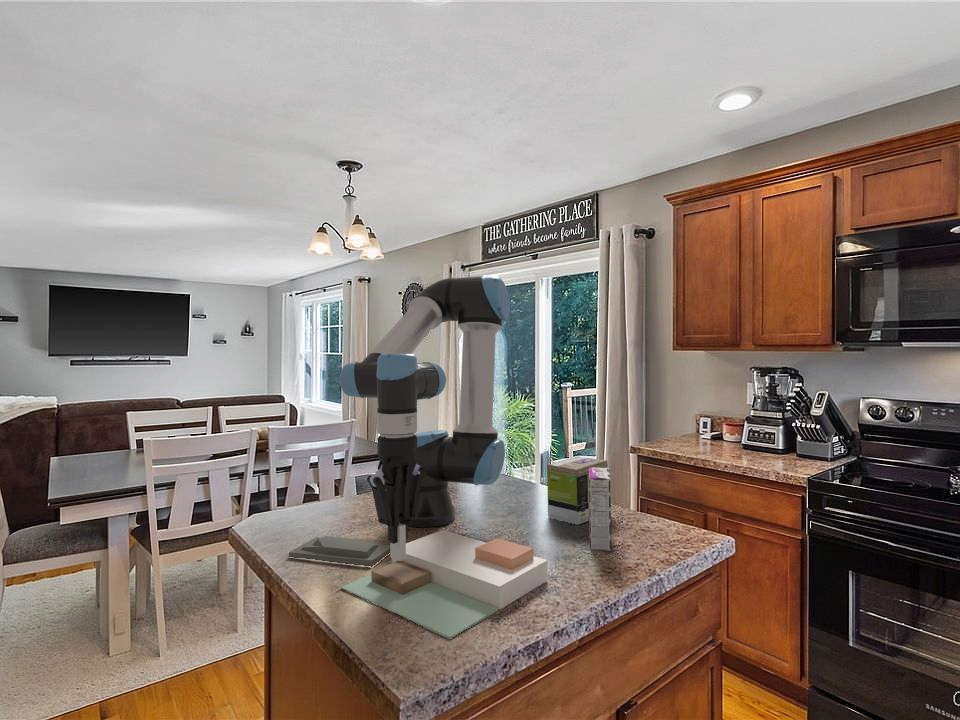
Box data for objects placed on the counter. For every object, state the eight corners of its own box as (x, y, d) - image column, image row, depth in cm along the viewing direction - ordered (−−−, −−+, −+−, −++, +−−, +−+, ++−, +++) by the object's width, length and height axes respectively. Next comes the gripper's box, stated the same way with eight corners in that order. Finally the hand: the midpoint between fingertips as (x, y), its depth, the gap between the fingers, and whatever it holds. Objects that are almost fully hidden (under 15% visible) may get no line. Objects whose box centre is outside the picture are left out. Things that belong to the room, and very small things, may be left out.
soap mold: (316, 545, 125) (316, 530, 125) (393, 554, 119) (393, 538, 119) (288, 561, 115) (288, 545, 115) (371, 572, 109) (371, 555, 109)
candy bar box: (588, 533, 130) (588, 466, 130) (609, 535, 129) (609, 467, 129) (588, 550, 119) (588, 477, 119) (611, 552, 118) (611, 478, 118)
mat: (340, 588, 100) (340, 586, 100) (390, 568, 109) (390, 566, 109) (450, 639, 82) (450, 637, 82) (498, 610, 91) (498, 608, 91)
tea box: (579, 506, 153) (579, 455, 153) (609, 513, 146) (609, 460, 146) (546, 517, 143) (546, 462, 143) (577, 526, 136) (577, 468, 136)
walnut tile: (371, 581, 102) (371, 570, 102) (399, 569, 108) (399, 560, 108) (402, 595, 96) (402, 584, 96) (430, 582, 102) (430, 571, 102)
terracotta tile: (475, 558, 104) (475, 547, 104) (497, 548, 110) (497, 538, 110) (512, 569, 99) (512, 559, 99) (533, 558, 104) (533, 548, 104)
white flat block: (392, 568, 110) (391, 548, 110) (442, 547, 121) (442, 529, 121) (499, 609, 92) (499, 586, 92) (547, 580, 103) (547, 560, 103)
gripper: (383, 441, 94) (384, 574, 94) (435, 432, 104) (436, 552, 104) (357, 436, 99) (357, 563, 99) (409, 429, 109) (409, 544, 109)
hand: (398, 558), depth 102 cm, fingers closed
